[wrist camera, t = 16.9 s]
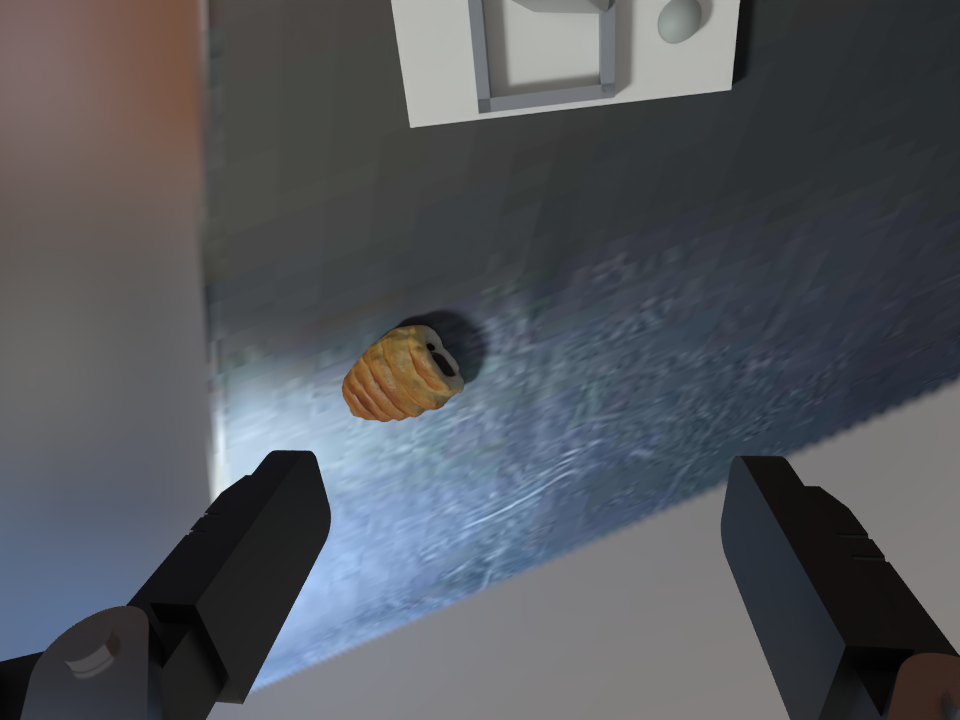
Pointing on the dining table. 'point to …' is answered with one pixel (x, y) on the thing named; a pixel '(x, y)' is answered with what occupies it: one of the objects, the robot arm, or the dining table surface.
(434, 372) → the pastry
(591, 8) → the lighter
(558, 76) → the board
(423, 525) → the dining table surface
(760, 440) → the dining table surface
